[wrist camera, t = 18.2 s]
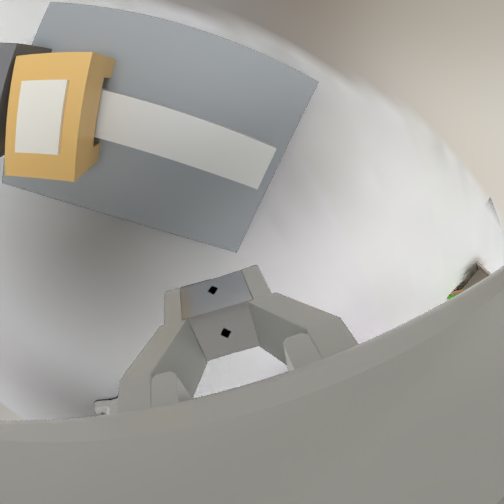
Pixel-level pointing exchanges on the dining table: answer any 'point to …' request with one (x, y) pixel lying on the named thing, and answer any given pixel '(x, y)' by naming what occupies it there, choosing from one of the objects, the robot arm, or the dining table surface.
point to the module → (54, 114)
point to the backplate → (171, 122)
